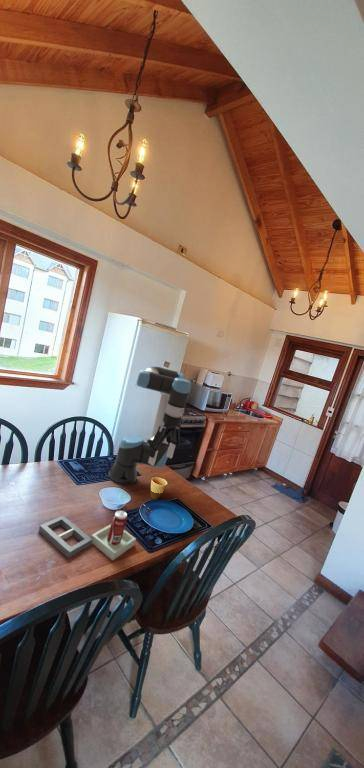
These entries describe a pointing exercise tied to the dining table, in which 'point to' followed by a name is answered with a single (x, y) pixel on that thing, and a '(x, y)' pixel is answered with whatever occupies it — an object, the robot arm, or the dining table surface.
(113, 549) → the tray
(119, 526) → the soda can
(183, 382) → the robot arm
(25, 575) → the dining table surface
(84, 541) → the frame
